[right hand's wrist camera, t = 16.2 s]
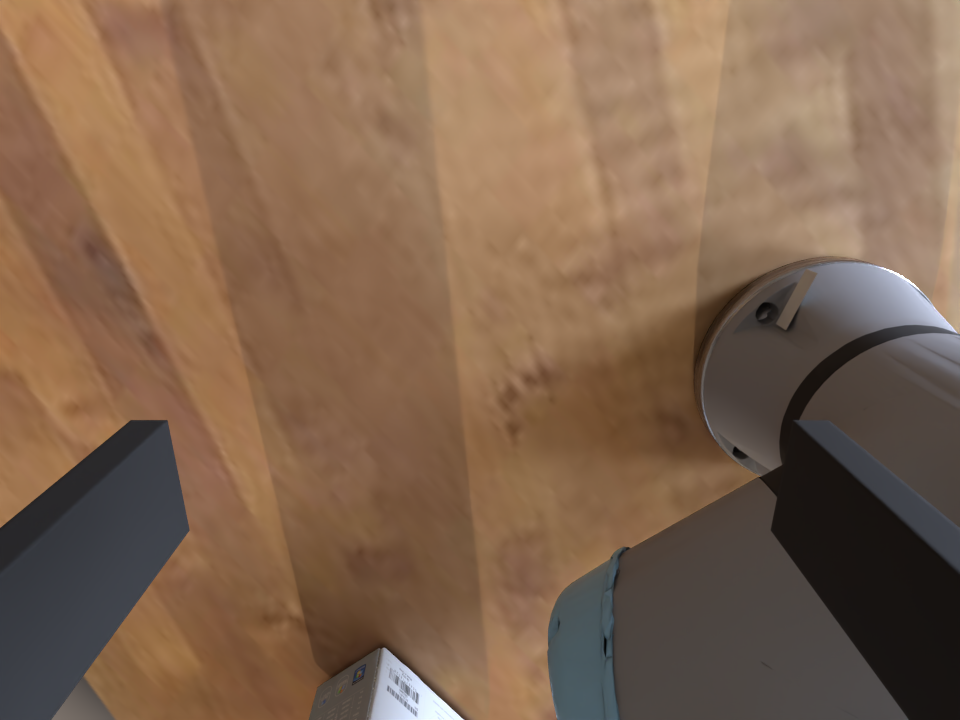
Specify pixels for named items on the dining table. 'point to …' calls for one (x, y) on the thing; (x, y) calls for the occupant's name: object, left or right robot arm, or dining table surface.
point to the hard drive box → (378, 693)
